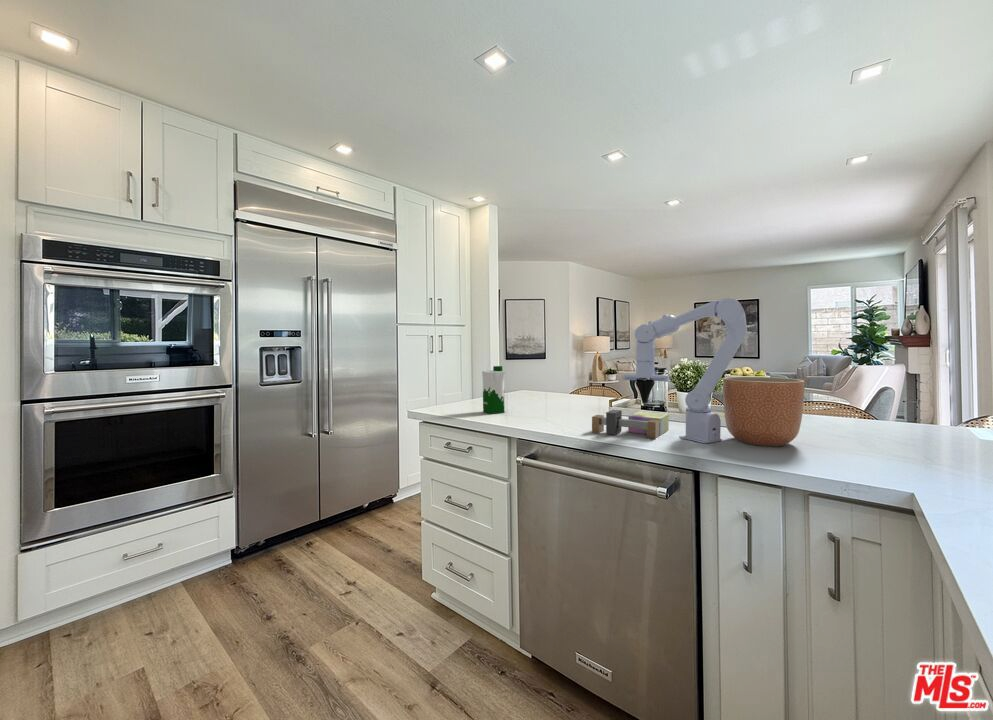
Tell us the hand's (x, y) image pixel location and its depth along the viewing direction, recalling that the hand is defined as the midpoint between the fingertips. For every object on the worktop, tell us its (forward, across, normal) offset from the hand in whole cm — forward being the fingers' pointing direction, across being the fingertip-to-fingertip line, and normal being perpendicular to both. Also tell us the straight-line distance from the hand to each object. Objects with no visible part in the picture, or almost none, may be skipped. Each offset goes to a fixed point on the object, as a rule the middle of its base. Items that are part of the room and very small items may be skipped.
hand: (645, 402), depth 143 cm
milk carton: (+10, +67, -12) cm, 69 cm away
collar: (+10, +9, +5) cm, 14 cm away
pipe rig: (+10, +5, +5) cm, 13 cm away
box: (+8, 0, -11) cm, 13 cm away
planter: (+10, -33, -5) cm, 35 cm away
